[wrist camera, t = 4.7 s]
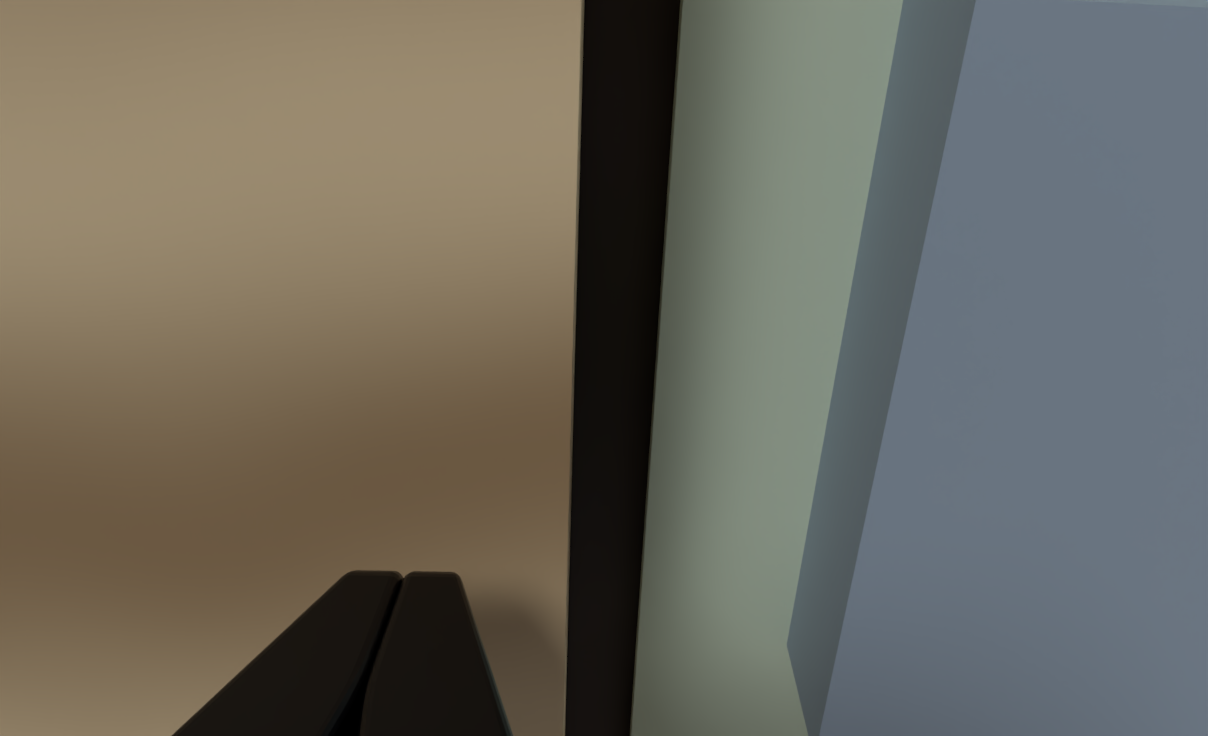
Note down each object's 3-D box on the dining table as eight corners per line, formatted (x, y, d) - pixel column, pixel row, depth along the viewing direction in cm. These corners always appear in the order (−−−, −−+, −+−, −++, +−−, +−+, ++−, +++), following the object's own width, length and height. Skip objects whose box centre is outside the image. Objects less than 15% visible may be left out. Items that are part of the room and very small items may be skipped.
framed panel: (562, 828, 16) (553, 1099, 13) (71, 819, 16) (-75, 1091, 13) (601, -668, 8) (608, -1072, 4) (-419, -724, 8) (-1261, -1193, 4)
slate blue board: (813, 758, 12) (786, 644, 14) (1284, 772, 13) (1198, 658, 14) (977, -5, 8) (909, -32, 10) (1678, 32, 8) (1489, -1, 10)
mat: (1256, 878, 17) (1266, 894, 17) (620, 868, 17) (620, 884, 17) (2129, -756, 8) (2184, -779, 8) (738, -840, 8) (743, -864, 7)
